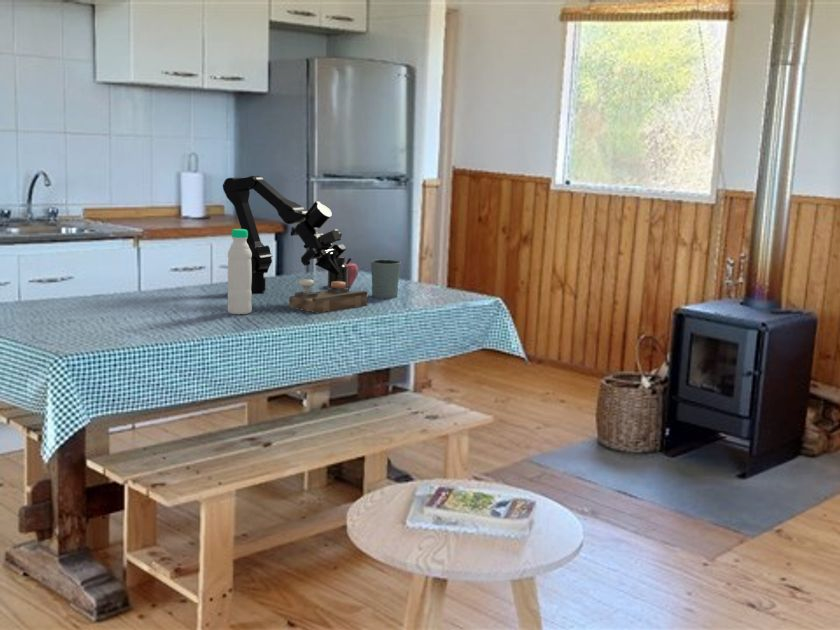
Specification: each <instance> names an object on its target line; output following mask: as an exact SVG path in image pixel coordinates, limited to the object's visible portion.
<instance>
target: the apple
mask: <svg viewBox="0 0 840 630" xmlns="http://www.w3.org/2000/svg"><path fill="white" fill-rule="evenodd" d="M351 261H352V258H349V257H348V259H347V261H346V262H345V263H344V264H345V265H346V266H347V267H348V287H351V286H353V285H354V282H355V280H356V279H357V277H358V275H359V267H358V265H357V263H354V262H353V263H351Z"/></svg>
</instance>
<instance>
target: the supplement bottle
mask: <svg viewBox="0 0 840 630" xmlns="http://www.w3.org/2000/svg"><path fill="white" fill-rule="evenodd" d="M336 261H337V264H338V267H339V270H340V275H338V276H337V275H335V274H333V273H331V272H329V271H327V288H332V287H331V282H334V281H341V282H346V287H344V288H348V287H349V286H348V267H347V266H346V265H345V264H344V263H346V258H345V256H341V255H340V256H339V258H338V259H336ZM348 289H349V288H348Z"/></svg>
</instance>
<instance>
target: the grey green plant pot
mask: <svg viewBox="0 0 840 630" xmlns="http://www.w3.org/2000/svg"><path fill="white" fill-rule="evenodd" d="M401 265H402V261H400V260H396V259H385V258H384V259H383V258H382V259H381V258H380V259H379V258H377V259H373V260H371V261H370V269H371V272H370V273H371V285H372V286H371V296H372V297H373V298H375V297H376V299H388V300H389V299H395V298H398V296H399V295H398V294H399V281H400V276H401V275H400V271H401Z"/></svg>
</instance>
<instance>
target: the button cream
mask: <svg viewBox="0 0 840 630" xmlns="http://www.w3.org/2000/svg"><path fill="white" fill-rule="evenodd" d="M298 285H299V286H301V287H302V292H303V293H305V294H308V293H309V292H311V291H310V287H312V286H315V280H314V279H311V278H310V279H309V278H308V279H307V278H306V279H301V278H300V279H299V280H298Z"/></svg>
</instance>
